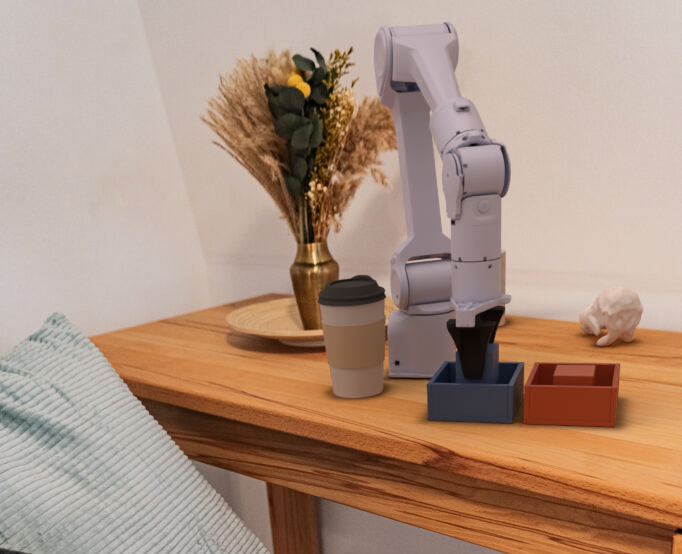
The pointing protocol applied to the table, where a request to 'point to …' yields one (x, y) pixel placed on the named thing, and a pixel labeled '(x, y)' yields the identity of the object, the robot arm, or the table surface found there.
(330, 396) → the table surface
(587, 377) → the terracotta block
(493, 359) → the blue block
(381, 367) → the coffee cup
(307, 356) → the table surface
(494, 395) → the blue bin
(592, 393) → the terracotta bin
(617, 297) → the white animal figurine
